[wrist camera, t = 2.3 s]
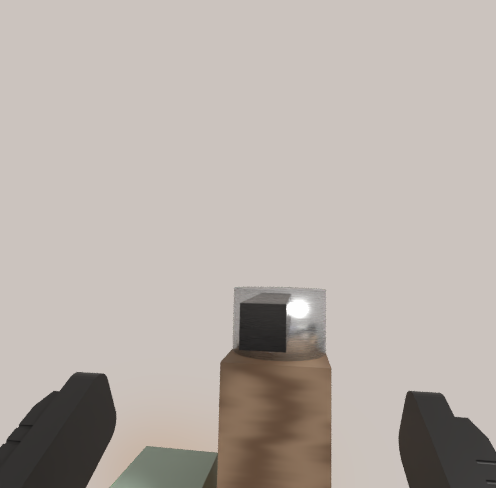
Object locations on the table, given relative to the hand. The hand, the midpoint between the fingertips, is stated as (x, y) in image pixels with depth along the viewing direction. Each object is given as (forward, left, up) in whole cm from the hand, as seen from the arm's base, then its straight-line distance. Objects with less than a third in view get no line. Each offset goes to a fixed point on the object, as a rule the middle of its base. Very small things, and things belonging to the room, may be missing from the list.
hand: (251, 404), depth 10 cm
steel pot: (+1, -20, -4) cm, 20 cm away
